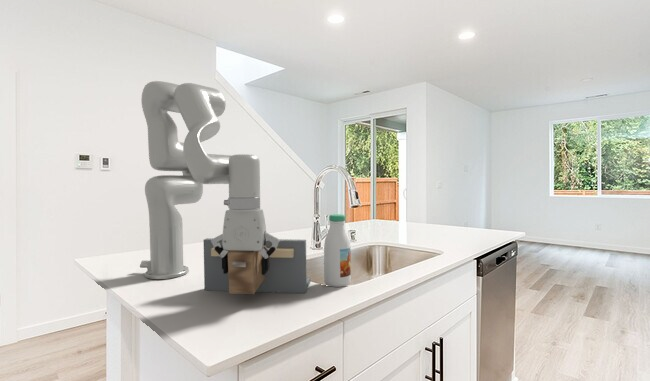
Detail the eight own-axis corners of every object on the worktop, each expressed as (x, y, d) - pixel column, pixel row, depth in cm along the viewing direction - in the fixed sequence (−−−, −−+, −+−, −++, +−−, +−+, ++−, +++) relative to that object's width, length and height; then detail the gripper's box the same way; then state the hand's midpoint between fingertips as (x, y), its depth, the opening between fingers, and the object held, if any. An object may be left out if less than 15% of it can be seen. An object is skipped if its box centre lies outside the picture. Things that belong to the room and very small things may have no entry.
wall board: (201, 292, 90) (200, 241, 90) (219, 279, 102) (218, 233, 102) (304, 295, 88) (303, 242, 87) (310, 281, 100) (310, 234, 99)
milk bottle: (330, 289, 93) (330, 217, 92) (320, 281, 100) (319, 214, 99) (355, 285, 96) (355, 215, 95) (343, 278, 103) (343, 212, 102)
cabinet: (227, 295, 80) (225, 254, 79) (243, 278, 91) (241, 242, 90) (252, 295, 80) (250, 254, 79) (264, 278, 91) (263, 242, 89)
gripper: (204, 205, 81) (205, 276, 81) (275, 206, 79) (276, 278, 80) (217, 203, 88) (218, 267, 89) (282, 203, 86) (283, 269, 87)
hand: (245, 272), depth 84 cm, fingers open, 9 cm apart
